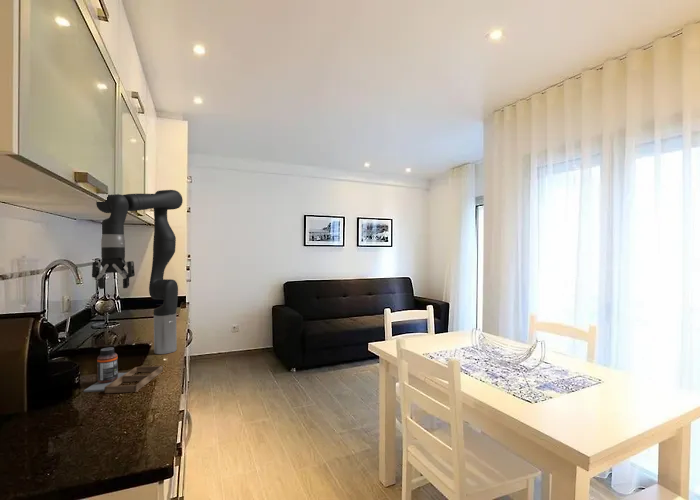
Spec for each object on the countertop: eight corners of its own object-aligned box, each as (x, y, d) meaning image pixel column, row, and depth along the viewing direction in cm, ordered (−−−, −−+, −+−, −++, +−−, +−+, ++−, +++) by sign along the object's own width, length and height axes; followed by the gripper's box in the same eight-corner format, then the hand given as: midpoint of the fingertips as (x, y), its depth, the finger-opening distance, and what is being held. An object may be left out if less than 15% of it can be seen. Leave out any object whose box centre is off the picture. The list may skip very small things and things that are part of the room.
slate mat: (112, 374, 131) (112, 373, 131) (129, 374, 131) (129, 372, 131) (83, 392, 115) (83, 390, 115) (103, 391, 115) (103, 389, 115)
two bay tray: (136, 372, 133) (135, 366, 133) (162, 371, 134) (162, 365, 134) (104, 393, 114) (104, 387, 114) (136, 391, 114) (136, 385, 114)
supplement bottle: (99, 379, 124) (99, 347, 124) (119, 376, 127) (118, 345, 127) (95, 385, 119) (95, 352, 119) (116, 382, 122) (116, 349, 122)
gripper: (137, 246, 138) (138, 287, 138) (99, 246, 137) (100, 287, 137) (127, 246, 131) (128, 289, 131) (87, 246, 130) (87, 290, 130)
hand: (113, 288), depth 134 cm, fingers open, 8 cm apart
